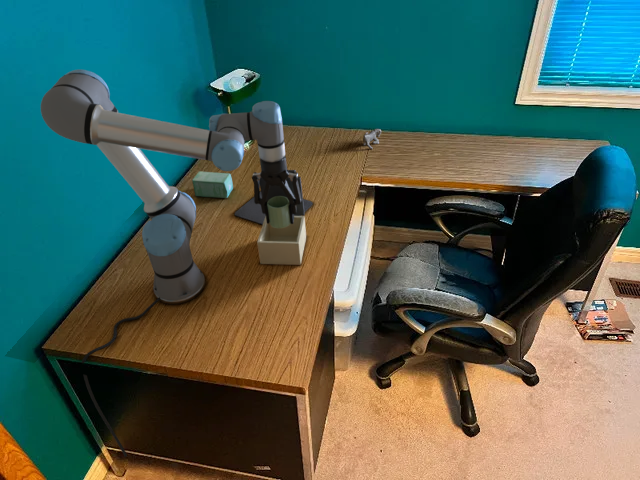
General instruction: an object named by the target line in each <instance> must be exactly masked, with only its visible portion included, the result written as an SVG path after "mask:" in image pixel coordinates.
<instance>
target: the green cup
mask: <svg viewBox="0 0 640 480" xmlns="http://www.w3.org/2000/svg"><path fill="white" fill-rule="evenodd" d="M289 205H290V203H289V200H288V198H287V197H284V196H275V197H272V198H270V199H269V200H268V201H267V206H268V213H269V220H270V225H271V226H272V227H275V228H284V227H287V226H289V225H290V224H291V222H290V212H289Z"/></svg>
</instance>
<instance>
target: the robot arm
mask: <svg viewBox="0 0 640 480" xmlns="http://www.w3.org/2000/svg"><path fill="white" fill-rule="evenodd" d="M110 96H111V93H110V89H109V86H108V85H107V83H106V82H105V80H104V79H103V78H102V77H101V76H100V75H98V74H96V73H95V72H93V71H91V70H88V69H87V70H86V69H74V70H71V71H69V72H67V73H65V74H63V76H61V77H59V79H58V80H57V81H56V83H55V84H54V85H53V86H51V88H50V89H49V90H48V91H47V92H46V93H45V94H44V95H43V97H42V99H41V102H40V114H41V117H42V120H43V121H44V122H45V124H46V126H47V127H48V128H49V129H50V130H51V131H52V132H54V133H56V134H57V135H58V136H60V137H63V138H65V139H68V140H70V141H74V142H77V143H81V144H87V145H93V146H96V147H97V148H98V149H99V150H100V151H101V152H102V153H103V155H104V156H105V157H106V158H107V160H108V161H109V162H110V163H111V164H112V166H114V168H115V170H117V171H118V173H119V174H120V175H121V176H122V177H123V179H124V180H125V181H126V182H127V184H128V186H130V187H131V188H132V190H133V191H134V192H135V193H136V195H137V196H138V197H139V198H140V199H141V201H142V202H143V203H144V205H143V211H144V213H145V214H146V215H147V216H148V217H149V218H150V220H148V221H146V223H145V224H144V226H143V227H142V231H141V235H142V236H141V237H142V242H143V246H144V249H145V250H146V254H147V256H148V259H149V262H150V264H151V268H152V270H153V273H154V275H153V284H152V285H153V288H152V289H153V293H154V295H155V298H156V299H155V300H154V301H153V302H152V303H151V304H150V305H148V306H147V307H146V309H144V311H142V313H141V314H139V315H136V316H132V317H127V318H126V317H125V318H123V319H120V320H118V321H117V322H116V323H115V324H114V326H113V336H112V339H110V340H109V341H108V342H106V343H105V344H103V345H101V346H99V347H96V348H93V349H92V350H90V351H89V352H87V353H86V354H85V355H84V357H83V358H82V360H81V364H84V363H85V362H86V361H87V359H88V358H89V357H90V356H91V355H93V354H94V353H96V352H98V351H101V350H103V349H105V348H108V347H109V346H110V345H112V344H113V343H114V342H115V341H116V339H117V335H118V333H117V332H118V330H117V329H118V327H119V326H120V324H122V323H125V322H129V321H135V320H139V319H141V318H142V317H144V316H145V315H146V314H147V313H148V312H149V311H150V310H151V309H152V308H153V307H154V306H155V305H156V304H158V302H161V303H163V304H166V305H181V304H185V303H189V302H190V301H192V300H194V299H196V298H197V297H198V296H200V294H201V293H202V292H203V290H204V288H205V286H206V279H205V275H204V273H203V272H202V270H201V269H200V268H199V267H198V265H197V264H196V263H195V261H194V257H193V254H192V251H191V246H190V245H191V243H190V242H191V238H192V234H193V230H194V225H195V222H196V219H197V207H196V206H197V205H196V203H195V201H194V199H193V198H192V197H191V196H190V195H189V194H188V193H186V192H183V191H181V190H179V189H178V188H177V187H176V186H173V185H172V186H171V185H169V184H168V183H167V182H166V181H165V179H164V177H162V176H161V174H160V173H159V171H158V170H157V169H156V167H155V166H154V165H153V164H152V163H151V161H150V159H148V157H147V156H146V154H145V153H144V152H143V150H145V151H146V150H147V151H150V152H151V151H152V152H157V153H163V154H168V155H175V156H181V157H186V158H192V159H197V160H202V161H203V160H204V161H208V162H212V163H213V165H214V167H216V168H218V169H219V170H220V171H223V172H232V171H234V170H237V169H238V168H240V166H241V164H242V162H243V160H244V159H243V158H244V156H245V142H247V141H256V142H257V143H256V144H257V150H258V157H259V164H260V172H256V171H254V172H253V173H252V175H251V180H252V182H253V197H254V203H255V204H260V205H261V208H262V213H263V214H266V221H267V224H269V223H270V220H269V213H268V206H267V202H266V198H267V195H268V191H269V188H270V186H274V185H276V186H280V187H281V189H283V191H284V193H285V195H286V197H287V198H288V200H289V202H290V205H289V212H290V222H291V224H293V223H294V214H296V211H297V208H296V205H297V204H298V205H299V204H301V200H302V198H301V193H300V189H299V184H298V180H297V178H298V177H299V172H297V171H296V172H295V173H294V174H293V173H289V171H288V170H289V169H288V164H287V156H286V148H285V136H284V126H283V118H282V112H281V111H282V110H281V107H280V105H279V103H277V102H275V101H271V100H262V101H260V102H257V103H255V104H254V105H253V106H252V110H251V111H249V112H237V113H235V112H234V113H221V114H215V115H211V116H210V118H209V121H208V123H209V125H208V127H209V129H204V128H199V127H194V126H188V125H183V124H178V123H173V122H168V121H163V120H162V121H161V120H158V119H153V118H147V117H142V116H137V115H131V114H126V113H121V112H119V110H118V108H117V107H116V106H115V105H114V103H113V102H112V101H111V99H110ZM261 177H262V178H263V179H264V180H265V181H266V186H265V190H264V193H263V197H262V199H261V198H260V192H261V189H260V181H259V180H260V178H261ZM288 177H289V178H290V180H291V181H292V185H293V189H294V194H295V197H294V195H293V193H292V192H291V190H290V188H289V186H288V184H287V181H286V179H287V178H288ZM295 198H296V199H295ZM82 374H83V373H82ZM83 380H84V383H85V386H86V388H87V391H88V394H89V396H90V398H91V401H92V403H93V405H94V406H95V409H96V410H97V412H98V414H99V415H100V417H101V419H102V420H103V422H104V424H105V426H106V427H107V429H108V430H109V432H110V434H111V435H112V437H113V439H114V440H115V442H116V443H117V445H118V447H119V449H120V451H121V452H122V454H123V456H124V457H127V456H128V453H127V452H126V450H125V448H124V446H123V444H122V443H121V441H120V439H119V438H118V436H117V434H116V433H115V431H114V430H113V428H112V426H111V425H110V423H109V421H108V420H107V418H106V416H105V414H104V413H103V411H102V408H101V407H100V405H99V403H98V402H97V400H96V397H95V395H94V393H93V391H92V387H91V385H90V382H89V379H88V375H87V374H85V373H84V374H83Z"/></svg>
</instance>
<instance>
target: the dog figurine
mask: <svg viewBox="0 0 640 480" xmlns="http://www.w3.org/2000/svg"><path fill="white" fill-rule="evenodd" d="M381 134H382V130H381V129H380V128H375V129H373V130H371V131H370V132H368V131H367V132H365V133H364V134H363V136H362V142H363V143H362V146H366V147H368V149H371V150H373V147H372V146H371V145H370V142H371V143H372V144H374V145H378V144H380V140H379V138H380V137H381Z"/></svg>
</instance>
